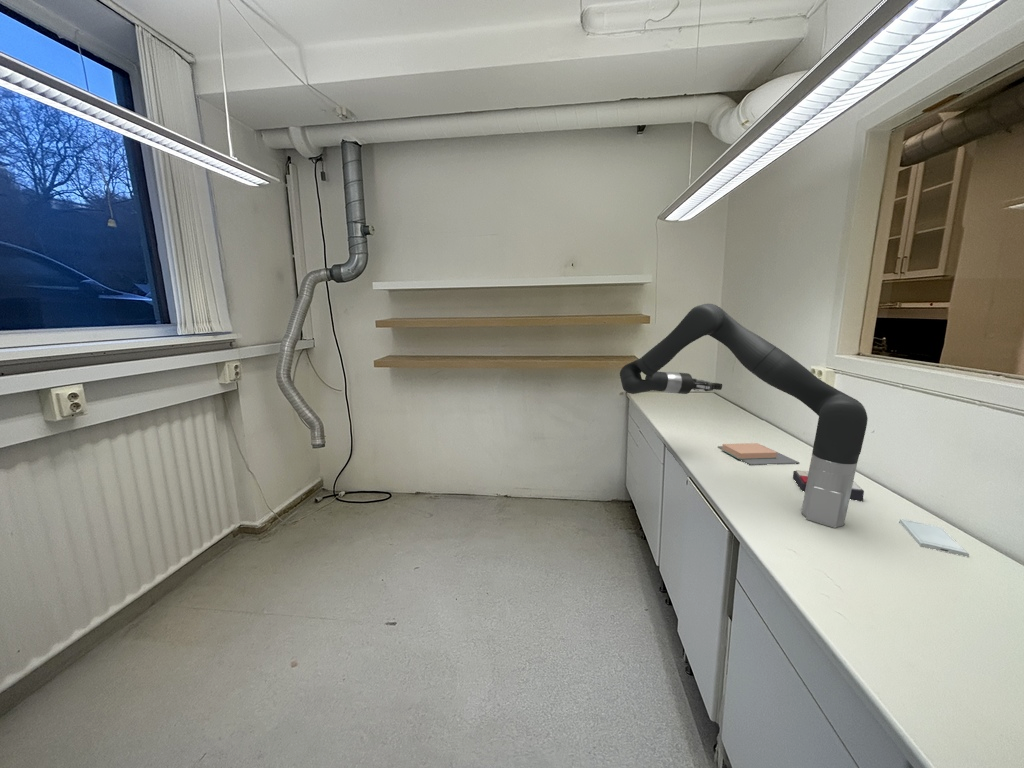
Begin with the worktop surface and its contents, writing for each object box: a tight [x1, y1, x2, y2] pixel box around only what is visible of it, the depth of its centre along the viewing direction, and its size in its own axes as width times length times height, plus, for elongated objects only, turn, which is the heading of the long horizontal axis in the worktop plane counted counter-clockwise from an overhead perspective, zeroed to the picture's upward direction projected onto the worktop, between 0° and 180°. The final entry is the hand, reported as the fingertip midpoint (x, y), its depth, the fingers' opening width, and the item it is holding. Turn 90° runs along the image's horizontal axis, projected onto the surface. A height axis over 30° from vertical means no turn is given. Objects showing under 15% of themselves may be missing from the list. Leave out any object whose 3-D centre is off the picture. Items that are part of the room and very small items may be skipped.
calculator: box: [792, 469, 865, 502], centre depth 122 cm, size 11×4×15 cm
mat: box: [716, 444, 800, 466], centre depth 149 cm, size 20×18×1 cm
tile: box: [721, 442, 778, 461], centre depth 148 cm, size 2×10×15 cm
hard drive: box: [899, 518, 970, 558], centre depth 96 cm, size 2×8×12 cm
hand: (720, 386), depth 140 cm, fingers closed
